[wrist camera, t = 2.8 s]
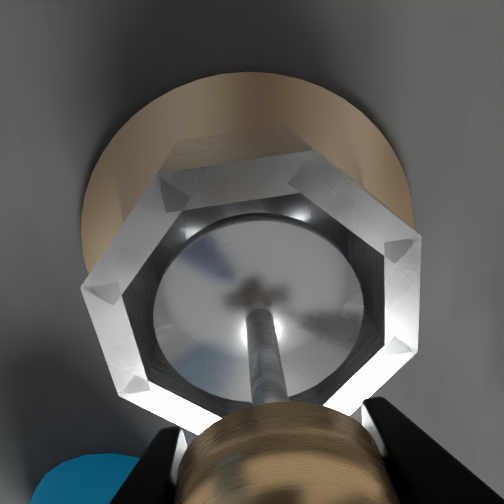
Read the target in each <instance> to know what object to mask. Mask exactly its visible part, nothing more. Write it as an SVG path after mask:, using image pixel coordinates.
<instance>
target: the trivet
mask: <svg viewBox="0 0 504 504" xmlns="http://www.w3.org/2000/svg"><path fill="white" fill-rule="evenodd" d="M284 124H287V125H288V126H289V127H290V128H292V129H293V130H294V131H295V132H297V133H298V134H299V135H300V136H302V137H303V138H304V139H305V140H306V141H308V142H309V143H310V144H311V145H313V146H314V147H315V148H316V149H318V150H319V151H320V152H321V153H323V154H324V155H325V156H326V157H328V158H329V159H330V160H331V161H333V162H334V163H335V164H336V165H338V166H339V167H340V168H341V169H343V170H344V171H345V172H346V173H348V174H349V175H350V176H351V177H352V178H354V179H355V180H356V181H357V182H359V183H360V184H361V185H362V186H364V187H365V188H366V189H367V190H368V191H369V192H371V193H372V194H373V195H374V196H375V197H376V198H378V199H379V200H380V201H381V202H382V203H383V204H385V205H386V206H387V207H388V208H389V209H390V210H391V211H393V212H394V213H395V214H396V215H397V216H398V217H400V218H401V219H402V220H403V221H404V222H405V223H406V224H408V225H409V226H410V227H411V228H412V229H413V207H412V202H411V196H410V191H409V186H408V183H407V180H406V177H405V175H404V172H403V169H402V166H401V164H400V162H399V160H398V158H397V156H396V155H395V153H394V151H393V149H392V147H391V146H390V144H389V143H388V142H387V140H386V139H385V137H384V136H383V135H382V133H381V132H380V131H379V129H378V128H377V127H376V126H375V125H374V124H373V123H372V122H371V121H370V120H369V119H368V118H367V117H366V116H365V115H364V114H363V113H362V112H361V111H359V110H358V109H357V108H355V107H354V106H353V105H351V104H350V103H349V102H347V101H346V100H345V99H343V98H341V97H340V96H338V95H336V94H334V93H332V92H330V91H328V90H327V89H325V88H323V87H321V86H318V85H315V84H312V83H310V82H307V81H304V80H301V79H298V78H294V77H289V76H284V75H279V74H275V73H261V72H238V73H225V74H220V75H215V76H211V77H206V78H202V79H198V80H196V81H193V82H190V83H188V84H185V85H183V86H180V87H177V88H175V89H173V90H171V91H169V92H168V93H166V94H164V95H162V96H160V97H159V98H157V99H155V100H153V101H152V102H151V103H149V104H148V105H147V106H145V107H144V108H143V109H141V110H140V111H139V112H137V113H136V114H135V115H134V116H132V118H131V119H130V120H129V121H128V122H127V123H126V124H125V125H124V126H123V127H122V128H121V129H120V130H119V131H118V132H117V133H116V134H115V136H114V137H113V139H112V140H111V141H110V143H109V144H108V145H107V147H106V148H105V150H104V151H103V153H102V155H101V156H100V158H99V160H98V162H97V164H96V166H95V168H94V170H93V172H92V175H91V178H90V181H89V184H88V187H87V190H86V193H85V198H84V203H83V209H82V215H81V241H82V249H83V257H84V261H85V264H86V268H87V272H88V275H89V274H90V272H91V271H92V269H93V268H94V266H95V265H96V263H97V262H98V260H99V259H100V257H101V256H102V254H103V253H104V251H105V250H106V248H107V247H108V245H109V244H110V242H111V241H112V239H113V238H114V236H115V235H116V233H117V232H118V230H119V229H120V227H121V226H122V224H123V223H124V221H125V220H126V218H127V217H128V215H129V214H130V212H131V211H132V209H133V208H134V206H135V205H136V203H137V202H138V200H139V199H140V197H141V196H142V194H143V193H144V191H145V190H146V188H147V187H148V185H149V184H150V182H151V181H152V179H153V178H154V176H155V175H156V173H157V172H158V170H159V169H160V167H161V166H162V164H163V163H164V161H165V160H166V158H167V157H168V155H169V154H170V152H171V151H172V149H173V148H174V146H175V145H176V144H177V142H178V141H179V140H185V139H192V138H198V137H205V136H212V135H218V134H225V133H231V132H238V131H245V130H251V129H258V128H265V127H271V126H278V125H284Z"/></svg>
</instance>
